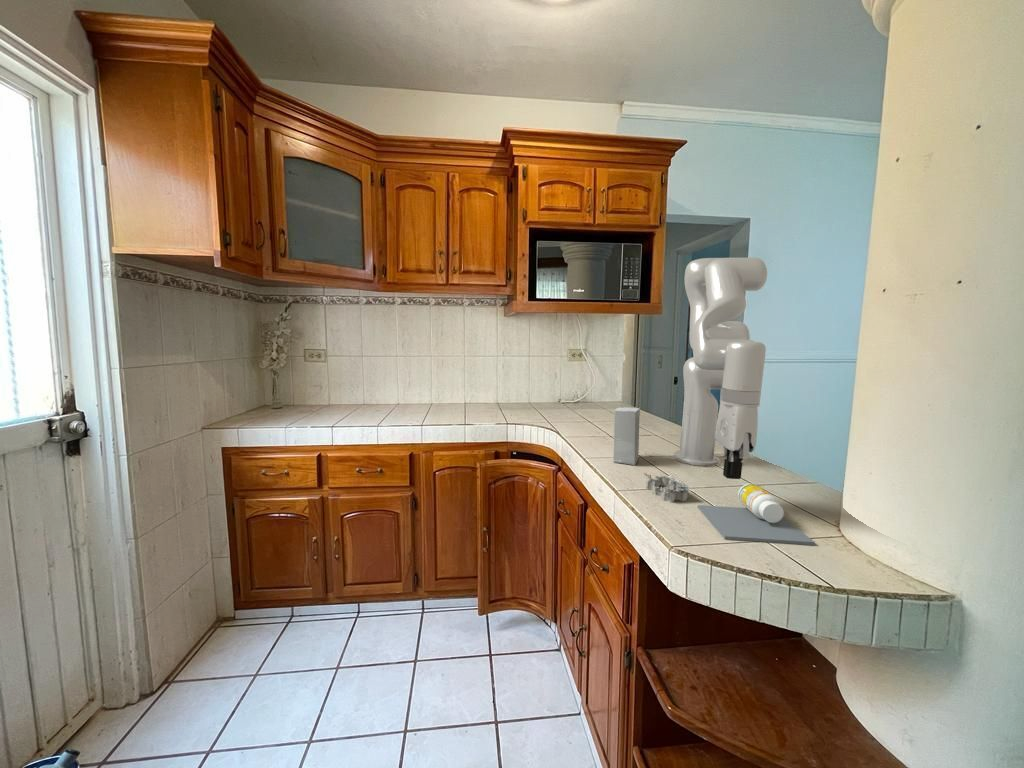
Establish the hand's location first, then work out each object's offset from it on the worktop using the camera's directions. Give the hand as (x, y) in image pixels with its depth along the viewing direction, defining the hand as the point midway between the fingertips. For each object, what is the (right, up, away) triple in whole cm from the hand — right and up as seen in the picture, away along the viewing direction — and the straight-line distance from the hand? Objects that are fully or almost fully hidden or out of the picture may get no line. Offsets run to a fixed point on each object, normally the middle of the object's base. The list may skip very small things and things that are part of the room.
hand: (731, 477), depth 93 cm
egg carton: (-13, -6, +6) cm, 15 cm away
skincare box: (-16, -2, +31) cm, 34 cm away
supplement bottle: (+3, -3, -2) cm, 5 cm away
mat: (-1, -8, -9) cm, 12 cm away
